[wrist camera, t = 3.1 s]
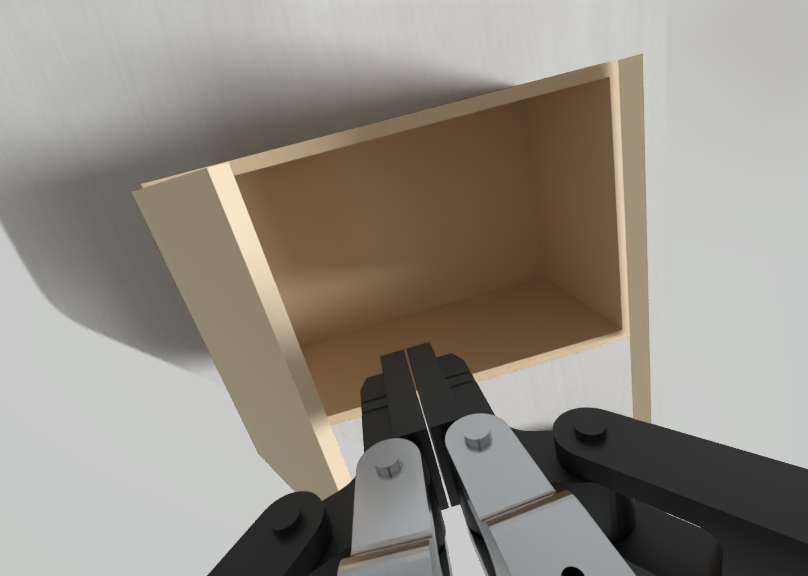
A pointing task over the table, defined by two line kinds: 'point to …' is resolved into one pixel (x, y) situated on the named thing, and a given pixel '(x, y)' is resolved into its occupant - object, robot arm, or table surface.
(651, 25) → the table surface
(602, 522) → the robot arm
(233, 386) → the near flap
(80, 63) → the table surface
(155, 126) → the table surface
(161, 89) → the table surface
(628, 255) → the far flap
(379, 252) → the carton
